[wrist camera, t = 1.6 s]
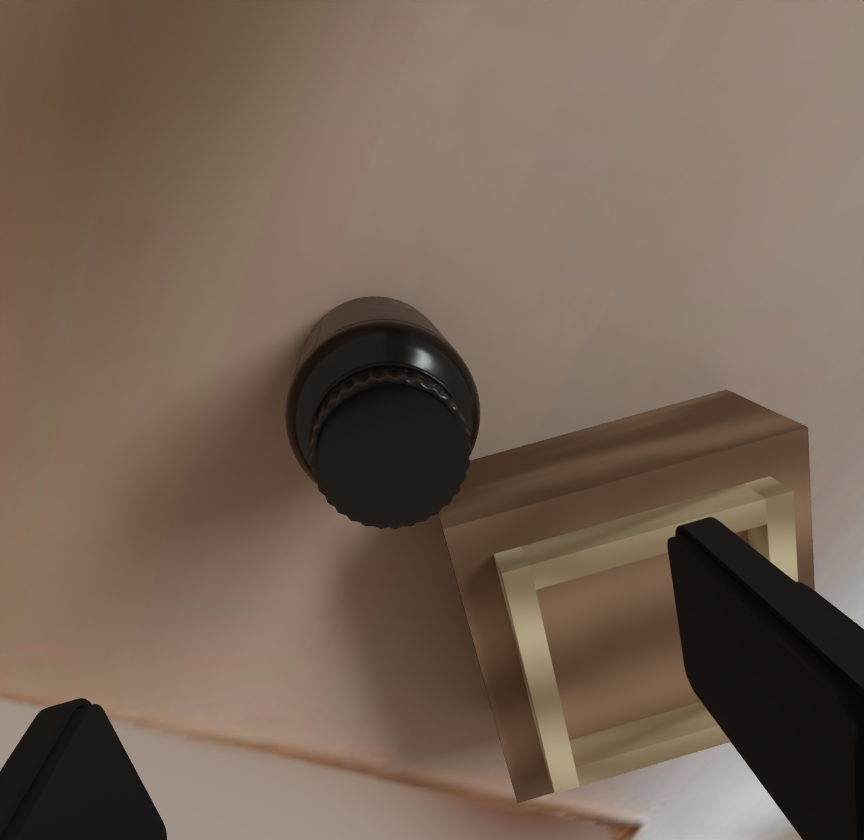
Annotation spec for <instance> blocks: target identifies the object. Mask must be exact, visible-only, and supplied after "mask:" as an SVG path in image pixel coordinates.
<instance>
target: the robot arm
mask: <svg viewBox="0 0 864 840" xmlns="http://www.w3.org/2000/svg"><path fill="white" fill-rule="evenodd" d="M667 547H668V555H669V562H670V569H671V576H672V583H673V590H674V597H675V604H676V611H677V618H678V626H679V633H680V640H681V647H682V654H683V661H684V668H685V672H686V676H687V678H688V681H689V683H690V685H691V687H692V689H693V691H694V692H695V694H696V695H697V697H698V698H699V699H700V701H701V702H702V703H703V705H704V706H705V707H706V709H707V710H708V711H709V713H710V714H711V716H712V717H713V718H714V720H715V721H716V722H717V724H718V725H719V726H720V728H721V729H722V731H723V732H724V733H725V735H726V736H727V737H728V739H729V740H730V741H731V743H732V744H733V745H734V747H735V748H736V750H737V751H738V752H739V754H740V755H741V756H742V758H743V759H744V760H745V762H746V763H747V764H748V766H749V767H750V769H751V770H752V771H753V773H754V774H755V775H756V777H757V778H758V779H759V781H760V782H761V784H762V785H763V786H764V788H765V789H766V790H767V792H768V793H769V794H770V796H771V797H772V798H773V800H774V801H775V803H776V804H777V805H778V807H779V808H780V809H781V811H782V812H783V813H784V815H785V816H786V817H787V819H788V820H789V822H790V823H791V824H792V826H793V827H794V828H795V830H796V831H797V832H798V834H799V835H800V837H801V838H802V839H803V840H864V629H863V628H861V627H860V626H859V625H858V624H856V623H855V622H854V621H852V620H851V619H850V618H849V617H847V616H846V615H845V614H844V613H842V612H841V611H840V610H838V609H837V608H836V607H835V606H833V605H832V604H831V603H829V602H828V601H827V600H826V599H824V598H823V597H822V596H821V595H819V594H818V593H817V592H815V591H814V590H813V589H812V588H810V587H808V586H807V585H805V584H803V583H802V582H796V581H794V580H793V579H791V578H790V577H789V576H788V575H786V574H785V573H784V572H783V571H781V570H780V569H779V568H778V567H776V566H775V565H774V564H773V563H771V562H770V561H769V560H768V559H766V558H765V557H764V556H763V555H761V554H760V553H759V552H758V551H756V550H755V549H754V548H753V547H751V546H750V545H749V544H748V543H746V542H745V541H744V540H742V539H741V538H740V537H739V536H737V535H736V534H735V533H734V532H732V531H731V530H730V529H729V528H727V527H726V526H725V525H724V524H722V523H721V522H720V521H719V520H717V519H716V518H714V517H707V518H704V519H701V520H697V521H694V522H690V523H687V524H683V525H680V526H678V527H677V528H676V531H675V537H671V538H669V539H668V542H667ZM0 840H167V833H166V828H165V825H164V823H163V821H162V819H161V817H160V815H159V813H158V811H157V810H156V808H155V806H154V804H153V802H152V800H151V798H150V796H149V794H148V792H147V791H146V789H145V787H144V785H143V783H142V781H141V779H140V777H139V776H138V774H137V772H136V770H135V768H134V766H133V764H132V763H131V761H130V759H129V757H128V755H127V753H126V751H125V749H124V747H123V745H122V744H121V742H120V740H119V738H118V736H117V734H116V732H115V731H114V728H113V727H112V725H111V723H110V721H109V719H108V717H107V715H106V713H105V711H104V710H103V708H102V707H101V706H99V705H98V704H93V705H92V704H91V703H90V702H89V701H88V700H86V699H83V698H79V699H76V700H72V701H69V702H65V703H62V704H59V705H55V706H52V707H48V708H45V709H43V710H41V711H40V712H39V713H38V715H37V716H36V717H35V719H34V720H33V722H32V723H31V725H30V726H29V728H28V729H27V731H26V732H25V734H24V735H23V737H22V739H21V740H20V742H19V743H18V745H17V746H16V748H15V749H14V751H13V752H12V754H11V755H10V757H9V758H8V760H7V762H6V763H5V765H4V766H3V768H2V769H1V771H0Z"/></svg>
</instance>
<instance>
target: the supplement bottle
mask: <svg viewBox="0 0 864 840" xmlns="http://www.w3.org/2000/svg"><path fill="white" fill-rule="evenodd" d="M479 424H480V403H479V396H478V392H477V388H476V385H475V382H474V380H473V377H472V375H471V373H470V371H469V369H468V367H467V366H466V364H465V363H464V361H463V359H462V358H461V357H460V355H459V354H458V353H457V352H456V350H455V349H454V348H453V347H452V346H451V345H450V343H449V342H448V341H447V340H446V339H445V338H444V336H443V335H442V334H441V333H440V332H439V331H438V330H437V328H436V327H435V326H434V325H433V324H432V323H431V322H430V321H429V320H428V319H427V318H426V317H425V316H424V315H423V314H422V313H420V312H419V311H418V310H416V309H415V308H413V307H412V306H410V305H408V304H406V303H403V302H401V301H398V300H395V299H391V298H386V297H363V298H357V299H354V300H351V301H348V302H345V303H343V304H341V305H339V306H337V307H336V308H334V309H333V310H331V311H330V312H329V313H327V314H326V315H325V316H324V317H323V318H322V319H321V320H320V321H319V322H318V323H317V325H316V326H315V327H314V329H313V330H312V332H311V333H310V335H309V337H308V339H307V341H306V343H305V346H304V348H303V351H302V354H301V357H300V359H299V362H298V365H297V368H296V371H295V373H294V376H293V379H292V382H291V385H290V389H289V392H288V397H287V403H286V428H287V434H288V438H289V442H290V445H291V448H292V450H293V453H294V455H295V457H296V459H297V460H298V462H299V464H300V465H301V467H302V468H303V470H304V471H305V472H306V473H307V475H308V476H309V477H310V478H311V479H312V480H313V481H314V482H315V483H316V484H317V485H318V489H319V491H320V492H321V493H322V494H324V495H325V496H326V500H327V502H328V503H329V504H331V505H333V506H335V507H336V510H337V511H338V513H341V514H344V515H347V516H348V518H349V519H350V520H351V521H357V522H361V523H362V524H363V525H365V526H375V527H377V528H380V529H382V528H387V527H390V528H394V529H397V528H399V527H401V526H412V525H414V524H415V523H416V522H422V521H425V520H427V519H428V518H429V517H430V516H431V515H435V514H438V513H439V512H440V511H441V509H442V507H444V506H447V505H448V504H450V502H451V500H452V498H453V497H454V496H455V495H456V494H458V493H459V491H460V486H461V484H462V483H463V482H464V481H465V480H466V471H467V470H468V468H469V466H470V460H469V456H470V454H471V452H472V450H473V448H474V445H475V442H476V439H477V435H478V430H479Z"/></svg>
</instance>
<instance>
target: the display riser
mask: <svg viewBox="0 0 864 840" xmlns="http://www.w3.org/2000/svg"><path fill="white" fill-rule="evenodd" d="M438 514H439V518H440V521H441V525H442V529H443V532H444V536H445V540H446V543H447V547H448V551H449V554H450V558H451V562H452V565H453V569H454V573H455V576H456V580H457V584H458V587H459V591H460V595H461V598H462V602H463V606H464V609H465V613H466V617H467V620H468V624H469V628H470V631H471V635H472V639H473V642H474V646H475V650H476V653H477V657H478V661H479V664H480V668H481V672H482V675H483V679H484V683H485V686H486V690H487V694H488V697H489V701H490V705H491V708H492V712H493V716H494V719H495V723H496V727H497V730H498V734H499V738H500V741H501V745H502V748H503V752H504V756H505V759H506V763H507V767H508V770H509V774H510V777H511V781H512V785H513V788H514V792H515V796H516V799H517V803H519V802H523V801H526V800H530V799H533V798H536V797H540V796H543V795H547V794H550V793H553V792H555V794H556V793H559V792H562V791H566V790H569V789H572V788H576V787H579V786H583V785H586V784H589V783H593V782H596V781H599V780H603V779H606V778H610V777H613V776H616V775H620V774H623V773H627V772H630V771H633V770H637V769H640V768H643V767H647V766H650V765H654V764H657V763H660V762H664V761H667V760H671V759H674V758H677V757H681V756H684V755H687V754H691V753H694V752H698V751H701V750H704V749H708V748H711V747H714V746H718V745H721V744H725V743H728V742H731V741H730V740H729V739H728V737H727V736H726V735H725V733H724V732H723V731H722V729H721V728H720V726H719V725H718V724H717V722H716V721H715V720H714V718H713V717H712V716H711V714H710V713H709V711H708V710H707V709H706V707H705V706H704V705H703V703H702V702H701V701H700V699H699V698H698V697H697V695H696V694H695V692H694V691H693V689H692V687H691V685H690V683H689V681H688V678H687V676H686V672H685V668H684V661H683V654H682V647H681V640H680V633H679V626H678V618H677V611H676V604H675V597H674V590H673V583H672V576H671V569H670V562H669V555H668V547H667V542H668V539H669V538H671V537H675V531H676V528H677V527H678V526H680V525H683V524H687V523H690V522H694V521H697V520H701V519H704V518H707V517H714V518H716V519H717V520H719V521H720V522H721V523H722V524H724V525H725V526H726V527H727V528H729V529H730V530H731V531H732V532H734V533H735V534H736V535H737V536H739V537H740V538H741V539H742V540H744V541H745V542H746V543H748V544H749V545H750V546H751V547H753V548H754V549H755V550H756V551H758V552H759V553H760V554H761V555H763V556H764V557H765V558H766V559H768V560H769V561H770V562H771V563H773V564H774V565H775V566H776V567H778V568H779V569H780V570H781V571H783V572H784V573H785V574H786V575H788V576H789V577H790V578H791V579H793V580H794V581H796V582H802V583H803V584H805V585H807V586H808V587H810V588H812V589H813V590H814V591H815V587H814V563H813V539H812V515H811V491H810V467H809V443H808V427H806V426H804V425H802V424H800V423H798V422H795V421H793V420H791V419H789V418H787V417H785V416H782V415H780V414H778V413H776V412H774V411H772V410H769V409H767V408H765V407H763V406H761V405H759V404H756V403H754V402H752V401H750V400H748V399H746V398H744V397H741V396H739V395H737V394H735V393H733V392H731V391H728V390H725V391H721V392H718V393H714V394H710V395H707V396H703V397H699V398H696V399H692V400H689V401H685V402H681V403H678V404H674V405H670V406H667V407H663V408H660V409H656V410H652V411H649V412H645V413H642V414H638V415H634V416H631V417H627V418H623V419H620V420H616V421H613V422H609V423H605V424H602V425H598V426H594V427H591V428H587V429H584V430H580V431H576V432H573V433H569V434H566V435H562V436H558V437H555V438H551V439H547V440H544V441H540V442H537V443H533V444H529V445H526V446H522V447H518V448H515V449H511V450H508V451H504V452H500V453H497V454H493V455H490V456H486V457H482V458H479V459H475V460H471V461H470V466H469V468H468V470H467V471H466V480H465V481H464V482H463V483H462V484H461V486H460V491H459V493H458V494H456V495H455V496H454V497H453V498H452V500H451V502H450V504H448V505H447V506H444V507H442V509H441V511H440V512H439V513H438Z"/></svg>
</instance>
